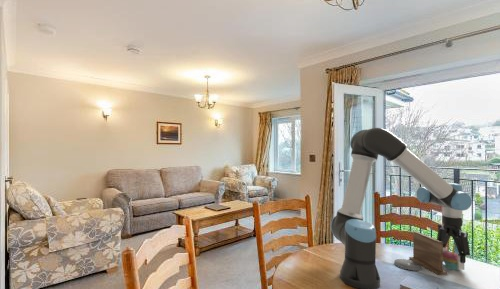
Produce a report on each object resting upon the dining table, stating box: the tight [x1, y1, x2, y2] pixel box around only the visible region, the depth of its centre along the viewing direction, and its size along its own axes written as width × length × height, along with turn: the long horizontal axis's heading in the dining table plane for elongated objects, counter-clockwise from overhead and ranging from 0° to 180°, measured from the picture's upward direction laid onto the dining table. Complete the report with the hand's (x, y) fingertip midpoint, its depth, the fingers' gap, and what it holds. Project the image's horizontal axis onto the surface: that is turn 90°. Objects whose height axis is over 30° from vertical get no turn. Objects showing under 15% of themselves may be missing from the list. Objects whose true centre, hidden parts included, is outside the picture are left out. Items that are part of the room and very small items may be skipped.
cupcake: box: [443, 242, 459, 271], centre depth 122 cm, size 9×8×12 cm
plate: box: [394, 258, 423, 272], centre depth 122 cm, size 11×11×1 cm
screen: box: [408, 231, 448, 276], centre depth 122 cm, size 5×17×14 cm, turn 6°
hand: (452, 265), depth 121 cm, fingers closed on cupcake, 8 cm apart
